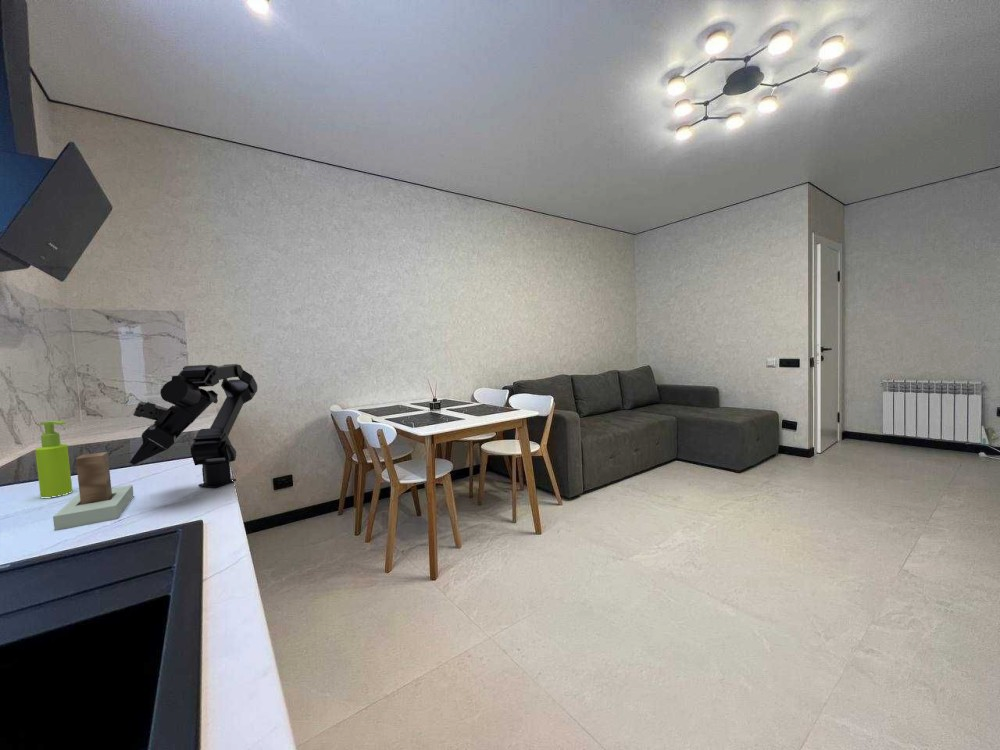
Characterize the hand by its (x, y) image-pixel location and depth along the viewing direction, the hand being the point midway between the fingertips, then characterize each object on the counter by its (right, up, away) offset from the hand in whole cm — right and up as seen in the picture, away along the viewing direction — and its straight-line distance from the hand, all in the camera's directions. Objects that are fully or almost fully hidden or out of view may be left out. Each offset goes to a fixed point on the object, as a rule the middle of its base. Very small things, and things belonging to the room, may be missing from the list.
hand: (135, 459), depth 102 cm
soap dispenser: (-30, -12, +11) cm, 34 cm away
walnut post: (-6, -10, -3) cm, 13 cm away
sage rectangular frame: (-6, -11, -3) cm, 13 cm away
